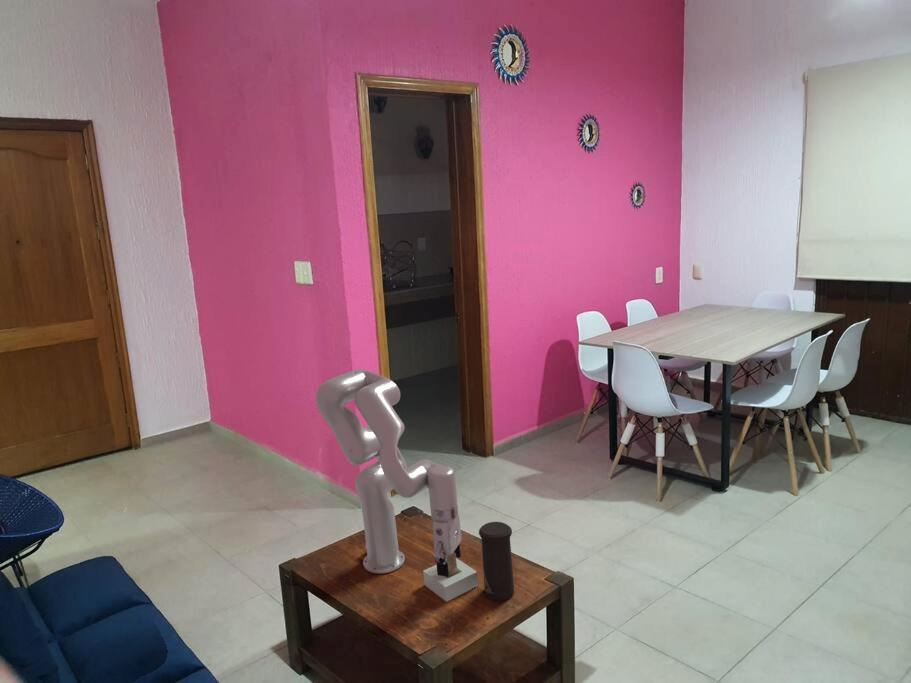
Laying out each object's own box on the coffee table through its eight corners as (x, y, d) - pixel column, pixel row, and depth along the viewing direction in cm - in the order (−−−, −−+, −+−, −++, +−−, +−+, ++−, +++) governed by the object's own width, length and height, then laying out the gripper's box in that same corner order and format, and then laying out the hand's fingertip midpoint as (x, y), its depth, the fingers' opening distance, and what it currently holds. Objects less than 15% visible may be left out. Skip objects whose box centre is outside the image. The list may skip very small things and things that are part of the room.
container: (495, 579, 196) (490, 516, 191) (521, 589, 190) (517, 524, 185) (477, 595, 189) (472, 529, 185) (503, 605, 183) (499, 538, 179)
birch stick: (449, 585, 192) (446, 557, 190) (443, 581, 195) (441, 552, 193) (458, 582, 194) (455, 553, 192) (452, 577, 196) (450, 549, 194)
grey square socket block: (424, 584, 196) (423, 570, 195) (455, 570, 202) (454, 556, 201) (446, 601, 187) (445, 587, 186) (478, 585, 193) (477, 571, 192)
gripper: (446, 527, 180) (451, 585, 184) (467, 497, 196) (471, 551, 200) (419, 524, 183) (425, 581, 187) (442, 495, 198) (447, 548, 202)
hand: (449, 565), depth 193 cm, fingers open, 9 cm apart
